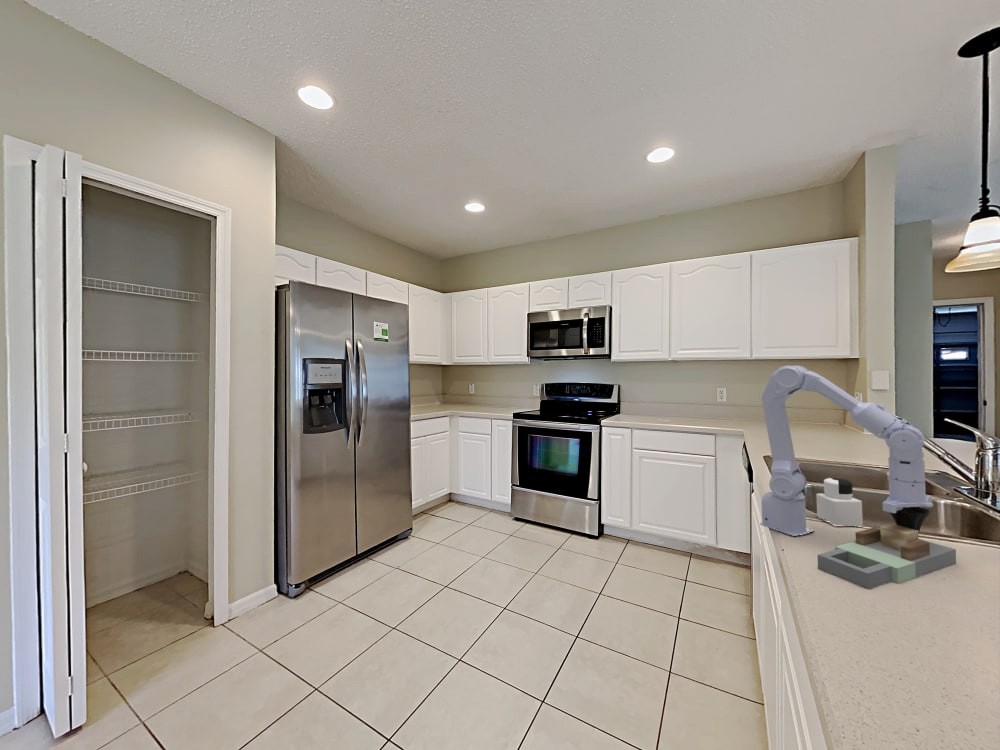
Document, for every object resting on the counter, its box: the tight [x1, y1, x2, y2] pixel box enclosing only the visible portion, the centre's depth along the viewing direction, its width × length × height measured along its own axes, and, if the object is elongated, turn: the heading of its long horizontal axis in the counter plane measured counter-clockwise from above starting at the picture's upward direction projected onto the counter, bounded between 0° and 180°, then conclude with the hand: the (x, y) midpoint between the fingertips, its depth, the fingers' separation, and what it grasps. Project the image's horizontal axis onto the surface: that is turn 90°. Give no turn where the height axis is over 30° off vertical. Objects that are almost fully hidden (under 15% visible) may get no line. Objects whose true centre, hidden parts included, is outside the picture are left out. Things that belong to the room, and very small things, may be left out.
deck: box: [817, 538, 957, 590], centre depth 87 cm, size 11×28×3 cm, turn 110°
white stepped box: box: [816, 477, 864, 528], centre depth 111 cm, size 7×7×12 cm
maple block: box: [879, 523, 920, 551], centre depth 88 cm, size 4×4×4 cm
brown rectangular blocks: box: [855, 526, 930, 561], centre depth 87 cm, size 10×7×2 cm
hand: (908, 539), depth 90 cm, fingers closed
